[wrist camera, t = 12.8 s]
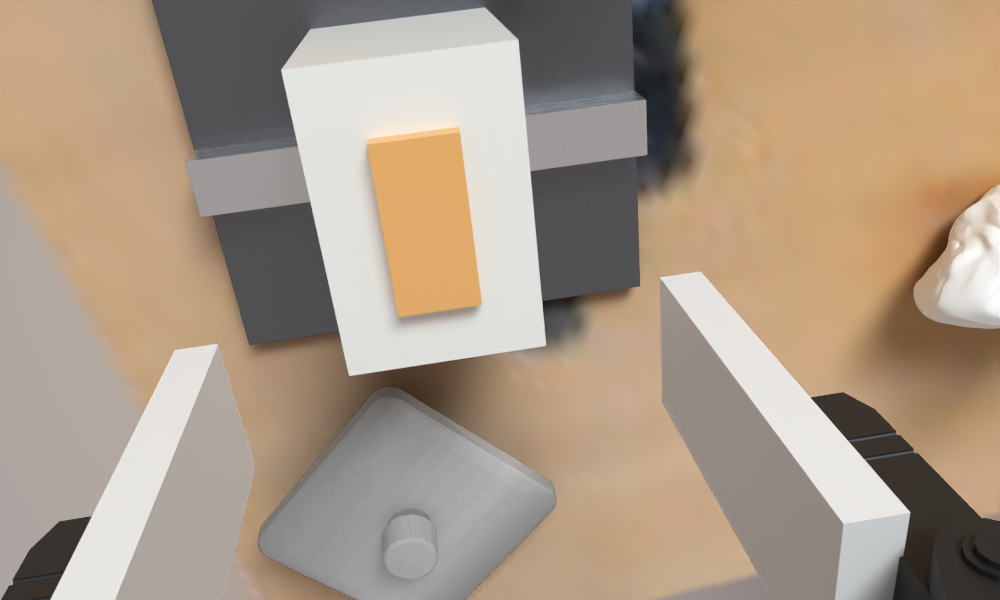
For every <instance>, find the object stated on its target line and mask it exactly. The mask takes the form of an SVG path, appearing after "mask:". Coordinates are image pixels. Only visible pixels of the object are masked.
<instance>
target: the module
mask: <svg viewBox="0 0 1000 600" xmlns="http://www.w3.org/2000/svg"><path fill="white" fill-rule="evenodd" d="M281 72H282V77H283V81H284V86H285V90H286V95H287V99H288V104H289V108H290V113H291V117H292V122H293V126H294V131H295V135H296V140H297V144H298V148H299V153H300V157H301V162H302V166H303V171H304V175H305V180H306V184H307V189H308V193H309V198H310V202H311V207H312V211H313V216H314V220H315V225H316V229H317V234H318V238H319V243H320V247H321V252H322V256H323V261H324V265H325V270H326V274H327V279H328V283H329V288H330V292H331V297H332V301H333V306H334V310H335V315H336V319H337V324H338V328H339V333H340V337H341V342H342V346H343V351H344V355H345V360H346V364H347V369H348V373H349V376H353V375H359V374H366V373H373V372H379V371H386V370H392V369H399V368H405V367H412V366H418V365H425V364H431V363H438V362H444V361H451V360H457V359H464V358H470V357H477V356H483V355H490V354H496V353H503V352H509V351H516V350H522V349H529V348H535V347H542V346H546V339H545V328H544V317H543V306H542V295H541V284H540V273H539V262H538V251H537V240H536V229H535V218H534V207H533V196H532V185H531V174H530V163H529V152H528V141H527V129H526V118H525V107H524V96H523V85H522V74H521V63H520V52H519V41H518V39H517V38H516V37H515V36H514V35H513V34H512V33H511V32H510V31H509V30H508V29H507V28H506V27H505V26H504V25H503V24H502V23H501V22H500V21H499V20H498V19H497V18H496V17H494V16H493V15H492V14H491V13H490V12H489V11H488V10H487V9H486V8H485V7H484V8H476V9H468V10H460V11H452V12H444V13H436V14H428V15H420V16H412V17H404V18H396V19H388V20H380V21H372V22H364V23H356V24H348V25H340V26H333V27H325V28H317V29H310V30H309V32H308V33H307V35H306V36H305V37H304V39H303V40H302V42H301V43H300V44H299V46H298V47H297V48H296V50H295V51H294V53H293V54H292V55H291V57H290V58H289V60H288V61H287V62H286V64H285V65H284V67H283V68H282V69H281Z"/></svg>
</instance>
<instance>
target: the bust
mask: <svg viewBox="0 0 1000 600" xmlns="http://www.w3.org/2000/svg"><path fill="white" fill-rule="evenodd" d="M913 295H914V300H915V303H916V306H917V307H918V309H919V310H920V311H921V313H922V314H923V315H925V316H926V317H928V318H930V319H932V320H934V321H937V322H940V323H945V324H950V325H956V326H961V327H971V328H984V329H997V328H1000V184H998V185H996V186H995V187H993V188H992V189H990V190H989V191H988V192H987V193H985V194H984V195H983V196H982V198H981V199H980V200H979V201H978V202H977V203H975V204H974V205H972V206H970V207H969V208H967V209H966V210H965V211H964V212H963V213H961V214H960V215H959V216H958V218H957V219H956V220H955V222H954V224H953V226H952V228H951V230H950V233H949V237H948V245H947V247H946V249H945V251H944V252H943V253H942V255H941V256H940V257H939V258H938V260H937V261H936V262H935V263H934V264H933V265H931V266H930V267H929V269H928V270H927V272H926V273H925V274H924V276H923V277H922V278H921V279H919V280H918V281H917V282H916V284H915V286H914V291H913Z"/></svg>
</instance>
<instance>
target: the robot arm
mask: <svg viewBox="0 0 1000 600" xmlns="http://www.w3.org/2000/svg"><path fill="white" fill-rule="evenodd" d="M660 301H661V361H662V403H663V405H664V406H665V408H666V410H667V412H668V414H669V415H670V417H671V419H672V421H673V423H674V424H675V426H676V428H677V430H678V432H679V433H680V435H681V437H682V439H683V440H684V442H685V444H686V446H687V448H688V449H689V451H690V453H691V455H692V457H693V458H694V460H695V462H696V464H697V466H698V467H699V469H700V471H701V473H702V475H703V476H704V478H705V480H706V482H707V483H708V485H709V487H710V489H711V491H712V492H713V494H714V496H715V498H716V500H717V501H718V503H719V505H720V507H721V509H722V510H723V512H724V514H725V516H726V518H727V519H728V521H729V523H730V525H731V527H732V528H733V530H734V532H735V534H736V535H737V537H738V539H739V541H740V543H741V544H742V546H743V548H744V550H745V552H746V553H747V555H748V557H749V559H750V561H751V562H752V564H753V566H754V568H755V570H756V571H757V573H758V575H759V577H760V578H761V580H762V582H763V584H764V585H765V587H766V589H767V591H768V593H769V595H770V596H771V598H772V600H1000V521H996V520H991V519H986V518H981V517H980V516H979V515H978V514H977V513H976V512H975V511H974V510H973V509H972V508H971V507H970V506H969V505H968V504H967V503H966V502H965V501H964V500H963V499H962V498H961V497H960V496H959V495H958V494H957V493H956V492H955V491H954V490H953V489H952V488H951V487H950V486H949V484H948V483H947V482H946V481H945V480H944V479H943V478H942V477H941V476H940V475H939V474H938V473H937V472H936V471H935V470H934V469H933V468H932V467H931V466H930V465H929V464H928V463H927V462H926V461H925V460H924V459H923V458H922V457H921V456H920V455H919V454H918V453H917V454H915V453H914V451H913V448H912V447H911V446H910V445H909V444H908V443H907V442H906V441H905V440H904V439H903V438H902V437H901V436H900V435H898V436H897V434H896V430H895V429H894V428H893V427H892V426H891V425H890V424H889V423H888V422H887V421H886V420H885V419H884V418H883V417H882V416H881V415H880V414H879V413H878V412H877V411H876V410H875V409H873V408H872V407H870V406H868V405H866V404H864V403H862V402H860V401H858V400H856V399H855V398H853V397H851V396H849V395H847V394H845V393H843V392H842V393H836V394H830V395H824V396H818V397H811V398H810V397H809V395H808V394H807V393H806V392H805V391H804V390H803V389H802V387H801V386H800V385H799V384H798V383H797V382H796V381H795V379H794V378H793V377H792V376H791V375H790V374H789V373H788V371H787V370H786V369H785V368H784V367H783V366H782V365H781V363H780V362H779V361H778V360H777V359H776V358H775V356H774V355H773V354H772V353H771V352H770V351H769V350H768V348H767V347H766V346H765V345H764V344H763V343H762V342H761V340H760V339H759V338H758V337H757V336H756V335H755V334H754V332H753V331H752V330H751V329H750V328H749V327H748V325H747V324H746V323H745V322H744V321H743V320H742V319H741V317H740V316H739V315H738V314H737V313H736V312H735V311H734V309H733V308H732V307H731V306H730V305H729V304H728V303H727V301H726V300H725V299H724V298H723V297H722V296H721V295H720V293H719V292H718V291H717V290H716V289H715V288H714V286H713V285H712V284H711V283H710V282H709V281H708V280H707V278H706V277H705V276H704V275H703V274H702V273H701V272H694V273H687V274H681V275H674V276H667V277H661V278H660ZM255 469H256V466H255V463H254V459H253V456H252V453H251V449H250V446H249V443H248V439H247V436H246V433H245V430H244V426H243V423H242V420H241V416H240V413H239V410H238V406H237V403H236V400H235V397H234V393H233V390H232V387H231V383H230V380H229V377H228V373H227V370H226V367H225V363H224V360H223V357H222V354H221V350H220V347H219V344H214V345H207V346H200V347H194V348H187V349H180V350H175V351H174V353H173V355H172V357H171V359H170V361H169V363H168V365H167V367H166V369H165V371H164V373H163V375H162V377H161V379H160V381H159V383H158V385H157V387H156V389H155V391H154V393H153V395H152V397H151V399H150V401H149V403H148V405H147V407H146V409H145V411H144V413H143V415H142V417H141V419H140V421H139V423H138V425H137V427H136V429H135V431H134V433H133V435H132V437H131V440H130V442H129V443H128V445H127V447H126V449H125V451H124V453H123V455H122V457H121V460H120V461H119V463H118V465H117V467H116V469H115V471H114V474H113V475H112V477H111V479H110V482H109V483H108V485H107V487H106V489H105V492H104V493H103V495H102V497H101V499H100V501H99V503H98V505H97V507H96V510H95V511H94V514H93V516H91V517H84V518H78V519H72V520H66V521H60V522H58V523H57V524H56V525H55V526H54V527H53V528H52V529H51V530H50V531H49V532H48V533H47V534H46V535H45V536H44V537H43V538H42V539H41V540H40V541H38V542H37V543H36V544H35V545H34V546H33V547H32V548H31V549H30V550H29V552H28V554H27V555H26V557H25V559H24V561H23V563H22V564H21V566H20V568H19V570H18V571H17V573H16V575H15V577H14V578H13V585H11V586H9V587H8V589H7V591H6V592H5V594H4V596H3V598H2V599H1V600H223V599H224V595H225V591H226V587H227V583H228V579H229V575H230V571H231V567H232V563H233V559H234V555H235V551H236V546H237V542H238V538H239V534H240V530H241V526H242V522H243V518H244V514H245V510H246V506H247V502H248V498H249V494H250V489H251V485H252V481H253V477H254V473H255Z"/></svg>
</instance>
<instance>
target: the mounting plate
mask: <svg viewBox="0 0 1000 600" xmlns="http://www.w3.org/2000/svg"><path fill="white" fill-rule="evenodd" d="M152 2H153V5H154V9H155V12H156V16H157V19H158V23H159V27H160V30H161V34H162V37H163V41H164V44H165V48H166V51H167V55H168V58H169V62H170V65H171V69H172V73H173V76H174V80H175V83H176V87H177V90H178V94H179V97H180V101H181V104H182V108H183V111H184V115H185V118H186V122H187V126H188V129H189V133H190V136H191V140H192V143H193V147H194V151H193V152H192V154H191V155H190V156H189V157H188V158H187V160H186V161H185V165H186V168H187V172H188V175H189V179H190V182H191V185H192V189H193V192H194V196H195V199H196V203H197V206H198V210H199V213H200V216H201V217H206V216H213V217H214V221H215V225H216V228H217V232H218V235H219V239H220V242H221V246H222V249H223V253H224V256H225V260H226V263H227V267H228V271H229V274H230V278H231V281H232V285H233V288H234V292H235V295H236V299H237V302H238V306H239V309H240V313H241V317H242V320H243V324H244V327H245V331H246V334H247V338H248V341H249V345H253V344H259V343H266V342H273V341H279V340H286V339H293V338H299V337H306V336H313V335H319V334H326V333H333V332H339V328H338V324H337V319H336V315H335V310H334V306H333V301H332V297H331V292H330V288H329V283H328V279H327V274H326V270H325V265H324V261H323V256H322V252H321V247H320V243H319V238H318V234H317V229H316V225H315V220H314V216H313V211H312V207H311V202H310V198H309V193H308V189H307V184H306V180H305V175H304V171H303V166H302V162H301V157H300V153H299V148H298V144H297V140H296V135H295V131H294V126H293V122H292V117H291V113H290V108H289V104H288V99H287V95H286V90H285V86H284V81H283V77H282V72H281V69H282V68H283V67H284V65H285V64H286V62H287V61H288V60H289V58H290V57H291V55H292V54H293V53H294V51H295V50H296V48H297V47H298V46H299V44H300V43H301V42H302V40H303V39H304V37H305V36H306V35H307V33H308V32H309V30H310V29H317V28H325V27H333V26H340V25H348V24H356V23H364V22H372V21H380V20H388V19H396V18H404V17H412V16H420V15H428V14H436V13H444V12H452V11H460V10H468V9H476V8H484V7H485V8H486V9H487V10H488V11H489V12H490V13H491V14H492V15H493V16H494V17H496V18H497V19H498V20H499V21H500V22H501V23H502V24H503V25H504V26H505V27H506V28H507V29H508V30H509V31H510V32H511V33H512V34H513V35H514V36H515V37H516V38H517V39H518V41H519V52H520V63H521V74H522V85H523V96H524V107H525V118H526V129H527V141H528V152H529V163H530V174H531V185H532V196H533V207H534V218H535V229H536V240H537V251H538V262H539V273H540V284H541V295H542V301H545V300H552V299H559V298H565V297H572V296H579V295H585V294H592V293H599V292H605V291H612V290H619V289H625V288H632V287H639V286H640V268H639V234H638V200H637V166H636V156H642V155H647V121H646V99H645V98H643V97H642V96H640V95H639V94H638V93H636V92H635V91H634V63H633V29H632V0H152Z"/></svg>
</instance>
